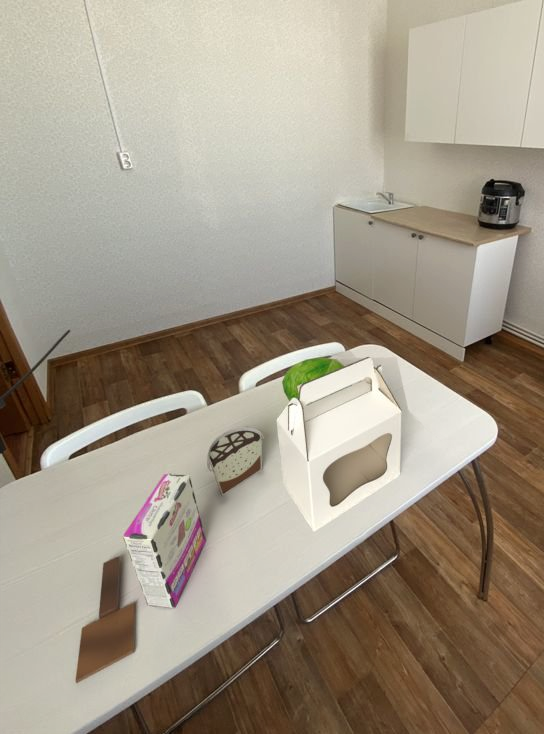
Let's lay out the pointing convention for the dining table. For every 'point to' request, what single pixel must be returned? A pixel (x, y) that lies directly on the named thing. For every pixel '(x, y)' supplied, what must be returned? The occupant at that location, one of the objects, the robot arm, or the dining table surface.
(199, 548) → the candy bar box
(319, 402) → the gable box
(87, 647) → the spatula
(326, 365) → the lettuce
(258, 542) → the dining table surface
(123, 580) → the dining table surface
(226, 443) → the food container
